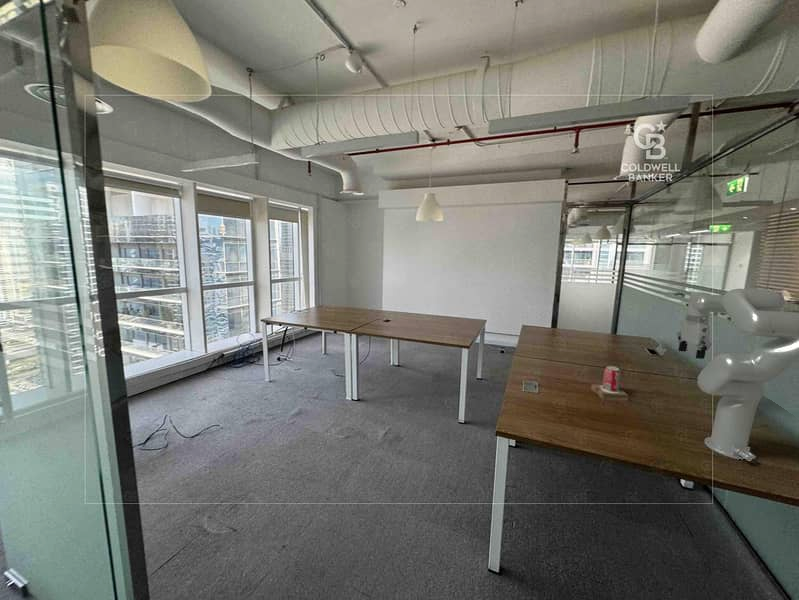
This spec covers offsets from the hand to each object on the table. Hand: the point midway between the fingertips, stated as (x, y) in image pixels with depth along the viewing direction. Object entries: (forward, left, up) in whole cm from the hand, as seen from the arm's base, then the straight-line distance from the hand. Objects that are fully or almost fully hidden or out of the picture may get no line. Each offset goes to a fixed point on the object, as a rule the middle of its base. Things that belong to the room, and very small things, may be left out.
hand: (690, 354), depth 142 cm
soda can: (+13, +26, -25) cm, 38 cm away
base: (+13, +26, -28) cm, 41 cm away
